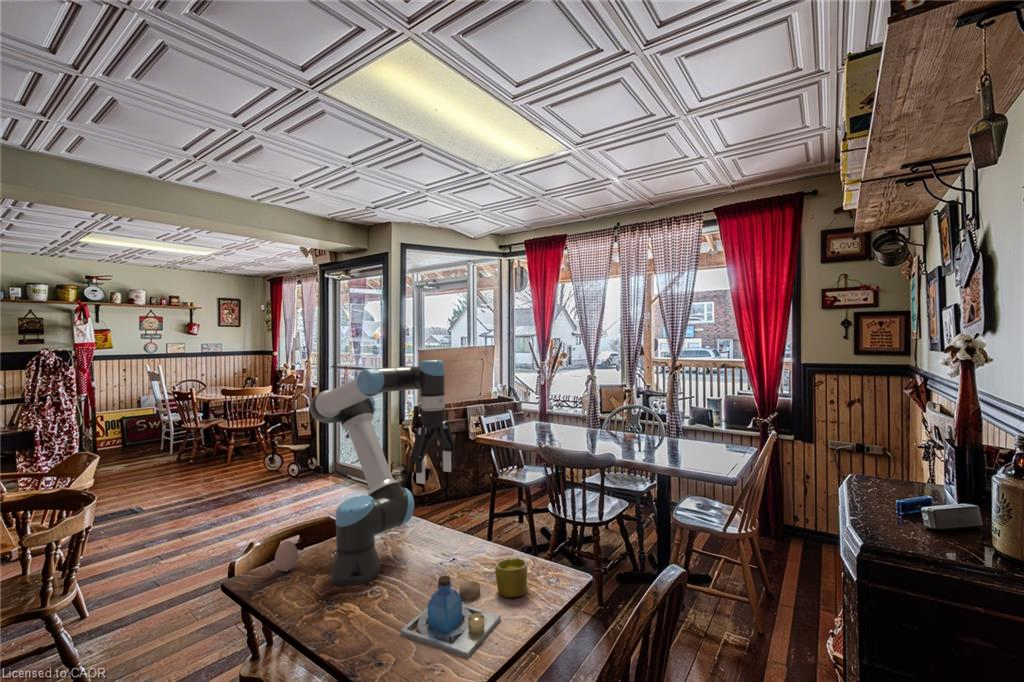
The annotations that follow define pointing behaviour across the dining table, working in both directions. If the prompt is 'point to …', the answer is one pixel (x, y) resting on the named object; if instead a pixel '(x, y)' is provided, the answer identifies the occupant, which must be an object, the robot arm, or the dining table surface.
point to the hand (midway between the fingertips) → (434, 477)
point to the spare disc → (469, 590)
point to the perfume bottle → (444, 608)
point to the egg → (286, 556)
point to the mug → (511, 577)
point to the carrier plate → (455, 631)
